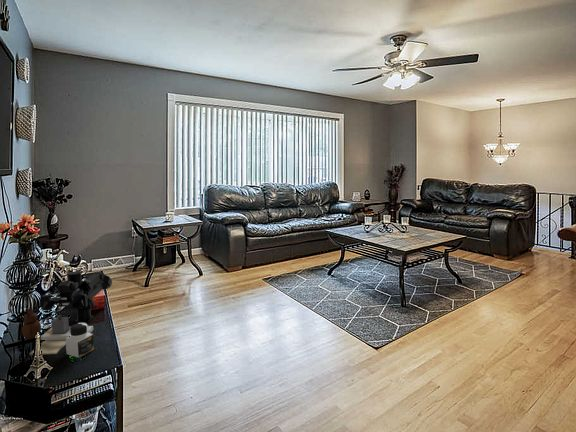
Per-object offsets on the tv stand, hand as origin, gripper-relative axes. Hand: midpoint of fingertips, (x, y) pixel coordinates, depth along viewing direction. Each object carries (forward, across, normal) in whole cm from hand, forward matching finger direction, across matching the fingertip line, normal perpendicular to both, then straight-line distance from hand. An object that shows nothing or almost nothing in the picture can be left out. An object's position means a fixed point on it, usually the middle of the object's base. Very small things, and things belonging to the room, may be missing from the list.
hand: (54, 309), depth 144 cm
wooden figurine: (-8, -15, +17) cm, 24 cm away
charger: (-9, -3, +17) cm, 19 cm away
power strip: (-9, 0, +17) cm, 19 cm away
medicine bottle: (+6, +12, +17) cm, 21 cm away
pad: (+2, -2, +16) cm, 17 cm away
